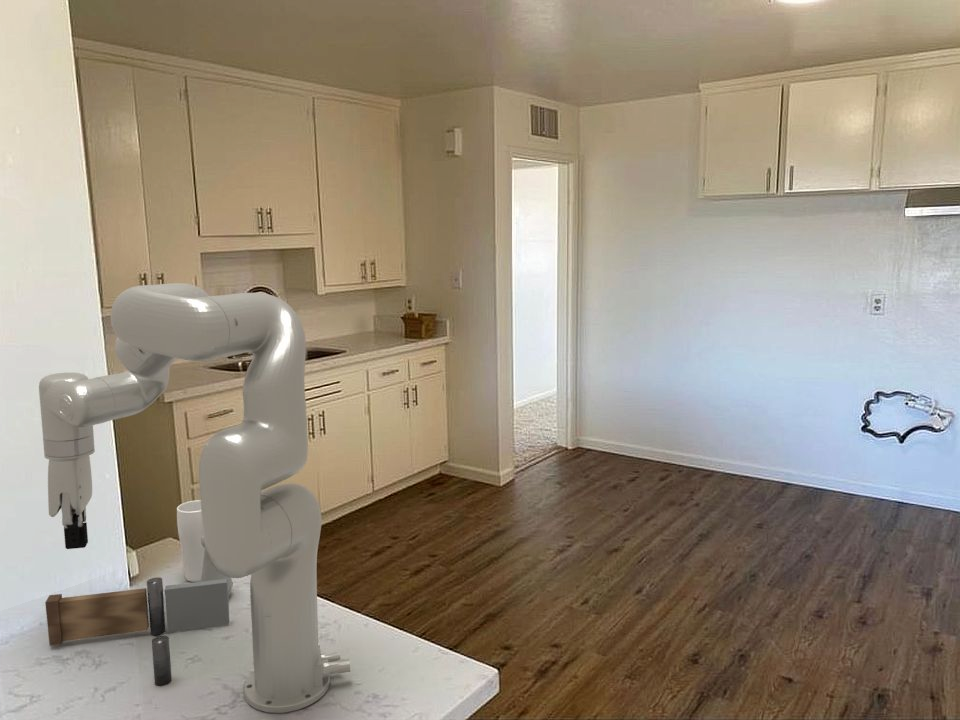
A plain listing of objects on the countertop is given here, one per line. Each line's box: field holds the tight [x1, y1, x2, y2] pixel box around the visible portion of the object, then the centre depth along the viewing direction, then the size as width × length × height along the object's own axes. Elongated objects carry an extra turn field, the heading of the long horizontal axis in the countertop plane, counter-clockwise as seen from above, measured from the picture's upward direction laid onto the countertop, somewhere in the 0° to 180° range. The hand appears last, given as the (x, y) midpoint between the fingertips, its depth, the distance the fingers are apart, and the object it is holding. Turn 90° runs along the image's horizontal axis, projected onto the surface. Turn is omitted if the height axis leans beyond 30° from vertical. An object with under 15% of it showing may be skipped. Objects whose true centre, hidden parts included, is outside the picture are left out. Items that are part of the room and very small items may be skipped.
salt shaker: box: [200, 536, 234, 597], centre depth 136 cm, size 6×6×13 cm
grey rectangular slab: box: [164, 579, 230, 634], centre depth 126 cm, size 10×2×8 cm, turn 106°
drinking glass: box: [176, 499, 205, 583], centre depth 144 cm, size 7×7×15 cm
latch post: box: [151, 634, 173, 687], centre depth 110 cm, size 2×2×7 cm
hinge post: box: [146, 577, 167, 637], centre depth 124 cm, size 2×2×10 cm
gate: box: [45, 587, 150, 647], centre depth 122 cm, size 15×2×8 cm, turn 106°
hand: (76, 546), depth 127 cm, fingers closed
